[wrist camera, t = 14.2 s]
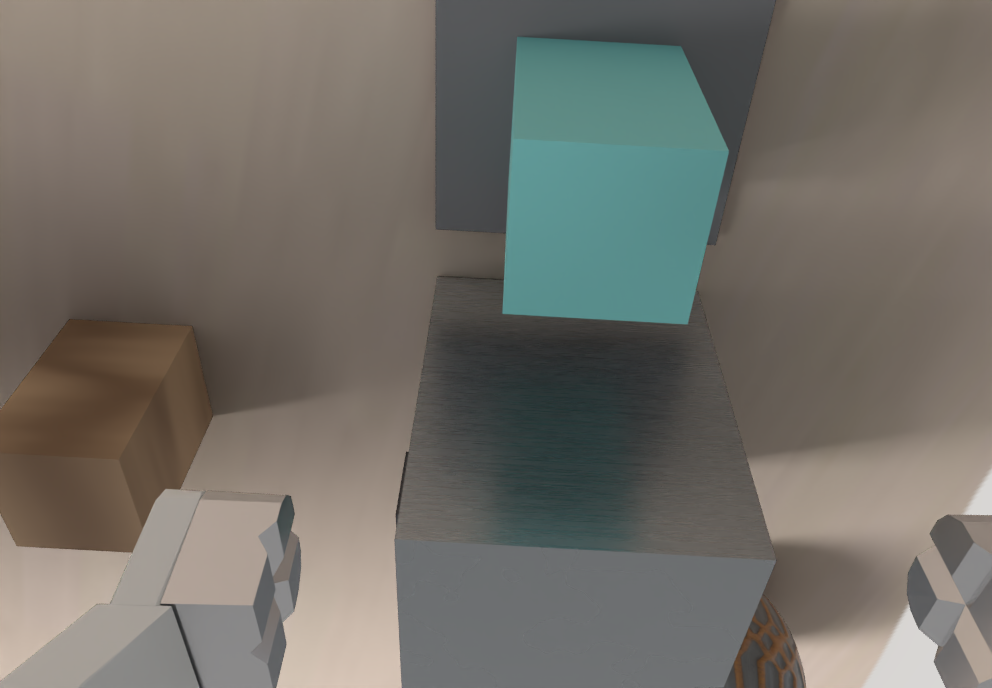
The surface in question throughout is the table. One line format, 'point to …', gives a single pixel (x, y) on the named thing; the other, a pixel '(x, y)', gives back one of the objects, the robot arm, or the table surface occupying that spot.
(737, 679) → the vase
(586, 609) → the block
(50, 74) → the table surface
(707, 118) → the teal block
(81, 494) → the walnut block
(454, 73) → the pad
